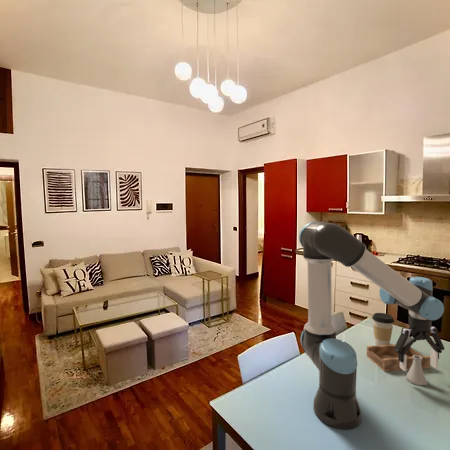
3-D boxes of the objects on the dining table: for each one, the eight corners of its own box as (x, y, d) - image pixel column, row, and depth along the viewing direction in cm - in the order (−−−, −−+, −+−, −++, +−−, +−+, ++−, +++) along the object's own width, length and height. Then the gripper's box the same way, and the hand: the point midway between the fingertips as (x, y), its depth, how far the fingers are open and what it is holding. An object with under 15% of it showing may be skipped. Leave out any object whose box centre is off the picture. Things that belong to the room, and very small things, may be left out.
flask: (431, 387, 111) (432, 362, 111) (410, 385, 113) (411, 360, 112) (422, 376, 119) (423, 353, 118) (402, 374, 120) (403, 351, 119)
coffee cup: (393, 343, 147) (394, 314, 146) (392, 351, 139) (394, 321, 138) (372, 338, 152) (373, 311, 152) (370, 346, 144) (371, 317, 143)
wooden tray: (384, 371, 122) (384, 360, 122) (366, 356, 134) (367, 346, 134) (429, 368, 124) (430, 357, 124) (408, 353, 137) (409, 343, 136)
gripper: (397, 322, 108) (396, 375, 110) (457, 318, 111) (455, 370, 113) (384, 314, 116) (383, 365, 117) (440, 311, 119) (438, 360, 120)
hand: (418, 367), depth 115 cm, fingers open, 13 cm apart
